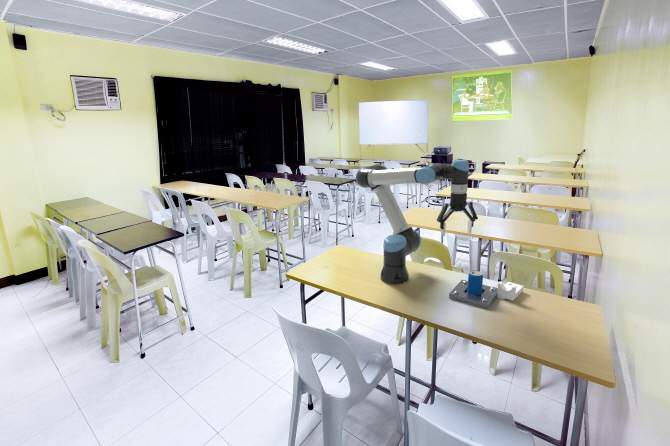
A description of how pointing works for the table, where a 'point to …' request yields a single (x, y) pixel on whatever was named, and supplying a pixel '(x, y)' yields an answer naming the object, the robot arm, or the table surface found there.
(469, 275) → the beverage can
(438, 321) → the table surface
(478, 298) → the grey fixture plate
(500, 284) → the bracket
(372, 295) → the table surface
